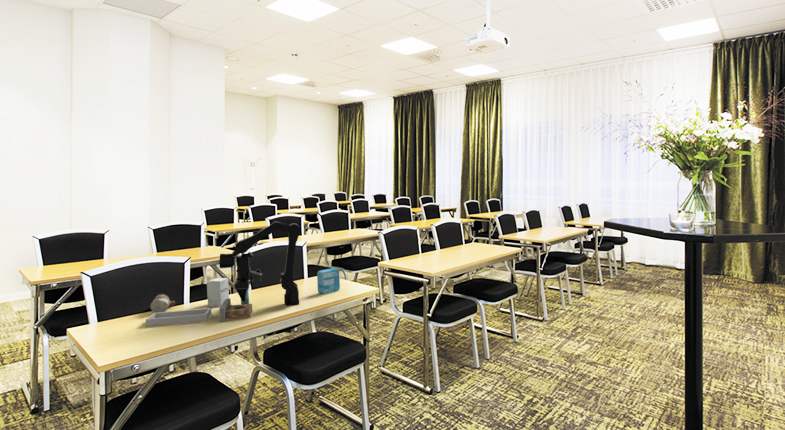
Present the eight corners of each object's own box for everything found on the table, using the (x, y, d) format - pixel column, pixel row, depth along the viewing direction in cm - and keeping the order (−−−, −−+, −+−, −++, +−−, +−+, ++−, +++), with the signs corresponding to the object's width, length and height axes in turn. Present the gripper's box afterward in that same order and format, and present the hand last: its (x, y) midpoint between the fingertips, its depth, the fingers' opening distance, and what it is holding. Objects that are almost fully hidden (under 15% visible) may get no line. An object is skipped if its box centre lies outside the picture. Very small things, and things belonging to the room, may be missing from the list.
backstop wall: (231, 310, 196) (230, 298, 196) (225, 321, 181) (224, 307, 180) (226, 311, 196) (225, 298, 196) (220, 322, 180) (219, 308, 180)
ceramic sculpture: (144, 297, 192) (151, 291, 206) (145, 315, 192) (152, 309, 206) (170, 294, 196) (175, 289, 210) (171, 313, 196) (176, 306, 210)
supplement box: (221, 306, 204) (219, 281, 203) (207, 306, 206) (206, 281, 205) (229, 302, 211) (228, 277, 210) (216, 302, 213) (215, 277, 212)
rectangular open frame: (211, 314, 192) (211, 308, 192) (206, 321, 182) (206, 314, 182) (154, 319, 187) (153, 312, 187) (146, 326, 177) (145, 319, 177)
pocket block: (252, 312, 195) (252, 303, 195) (249, 318, 185) (249, 309, 185) (229, 314, 193) (229, 305, 193) (226, 320, 183) (225, 311, 183)
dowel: (249, 306, 203) (248, 286, 202) (248, 308, 199) (247, 288, 199) (241, 307, 202) (240, 287, 201) (240, 309, 199) (239, 288, 198)
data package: (323, 294, 222) (322, 272, 221) (317, 293, 225) (316, 271, 224) (340, 290, 231) (339, 268, 230) (334, 288, 234) (333, 267, 233)
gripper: (258, 269, 192) (260, 302, 193) (262, 262, 210) (264, 292, 211) (233, 270, 190) (235, 304, 191) (239, 263, 208) (241, 294, 209)
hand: (245, 298), depth 200 cm, fingers open, 9 cm apart
